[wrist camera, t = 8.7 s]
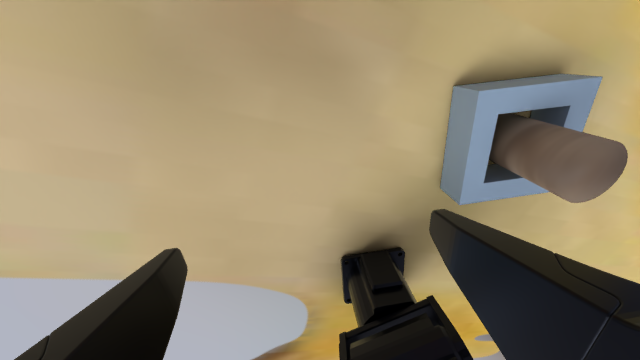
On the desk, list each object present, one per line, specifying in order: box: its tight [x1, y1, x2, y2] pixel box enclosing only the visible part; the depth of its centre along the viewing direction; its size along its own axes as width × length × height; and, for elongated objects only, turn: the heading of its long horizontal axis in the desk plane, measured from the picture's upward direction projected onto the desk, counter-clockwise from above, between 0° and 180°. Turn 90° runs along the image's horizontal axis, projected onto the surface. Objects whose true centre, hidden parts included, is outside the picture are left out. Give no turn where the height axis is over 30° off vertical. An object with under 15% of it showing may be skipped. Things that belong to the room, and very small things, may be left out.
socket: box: [440, 74, 602, 205], centre depth 21 cm, size 9×9×3 cm
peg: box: [489, 113, 628, 203], centre depth 19 cm, size 4×4×8 cm
